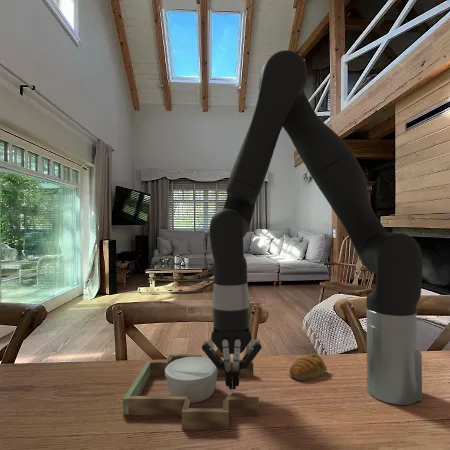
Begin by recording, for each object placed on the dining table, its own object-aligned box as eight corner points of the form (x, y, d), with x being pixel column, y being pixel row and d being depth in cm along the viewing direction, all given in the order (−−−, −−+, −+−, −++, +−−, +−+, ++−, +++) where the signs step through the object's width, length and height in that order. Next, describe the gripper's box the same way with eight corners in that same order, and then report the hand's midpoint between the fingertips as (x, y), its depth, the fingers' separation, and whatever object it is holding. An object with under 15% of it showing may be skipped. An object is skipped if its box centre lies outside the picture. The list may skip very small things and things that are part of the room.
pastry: (306, 386, 71) (306, 368, 71) (281, 376, 75) (281, 360, 76) (328, 373, 77) (328, 356, 77) (304, 364, 82) (304, 349, 82)
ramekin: (170, 411, 60) (170, 383, 60) (160, 385, 71) (160, 360, 71) (226, 400, 64) (226, 373, 65) (208, 376, 75) (208, 353, 75)
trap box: (252, 367, 80) (252, 354, 80) (260, 430, 55) (260, 412, 55) (151, 366, 80) (151, 354, 80) (115, 428, 55) (115, 410, 56)
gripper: (261, 300, 71) (262, 379, 71) (201, 300, 72) (202, 379, 71) (264, 308, 64) (265, 396, 64) (197, 309, 64) (198, 397, 64)
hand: (232, 387), depth 67 cm, fingers closed
